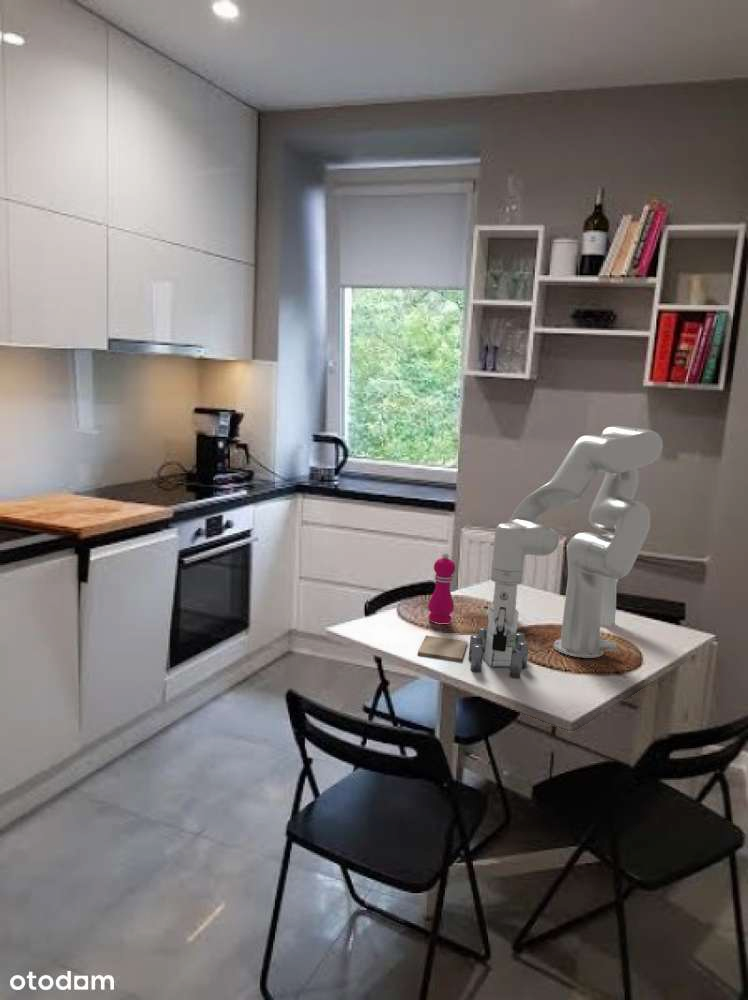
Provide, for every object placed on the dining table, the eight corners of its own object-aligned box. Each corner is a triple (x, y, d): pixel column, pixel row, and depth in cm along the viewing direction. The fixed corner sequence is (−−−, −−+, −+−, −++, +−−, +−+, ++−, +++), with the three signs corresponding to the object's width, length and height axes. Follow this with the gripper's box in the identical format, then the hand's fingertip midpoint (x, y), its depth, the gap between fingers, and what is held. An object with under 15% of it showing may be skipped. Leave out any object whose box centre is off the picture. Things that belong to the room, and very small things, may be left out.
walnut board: (467, 644, 198) (467, 641, 198) (461, 661, 185) (461, 658, 185) (425, 638, 200) (426, 635, 200) (417, 654, 187) (417, 651, 187)
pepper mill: (443, 627, 210) (450, 557, 206) (422, 621, 214) (428, 552, 211) (457, 621, 215) (463, 553, 212) (435, 615, 220) (441, 548, 216)
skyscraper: (608, 629, 219) (620, 535, 214) (584, 622, 224) (596, 530, 219) (619, 623, 225) (631, 532, 220) (596, 617, 230) (607, 527, 225)
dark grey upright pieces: (527, 656, 192) (529, 634, 191) (525, 680, 177) (528, 655, 176) (471, 648, 195) (473, 626, 194) (464, 670, 180) (467, 646, 179)
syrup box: (504, 658, 189) (510, 603, 187) (513, 667, 184) (519, 610, 181) (483, 658, 188) (488, 602, 186) (490, 667, 182) (496, 610, 180)
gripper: (521, 586, 173) (513, 659, 176) (523, 568, 190) (516, 635, 193) (488, 582, 175) (481, 655, 177) (493, 564, 191) (487, 631, 194)
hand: (499, 644), depth 185 cm, fingers closed on syrup box, 7 cm apart
